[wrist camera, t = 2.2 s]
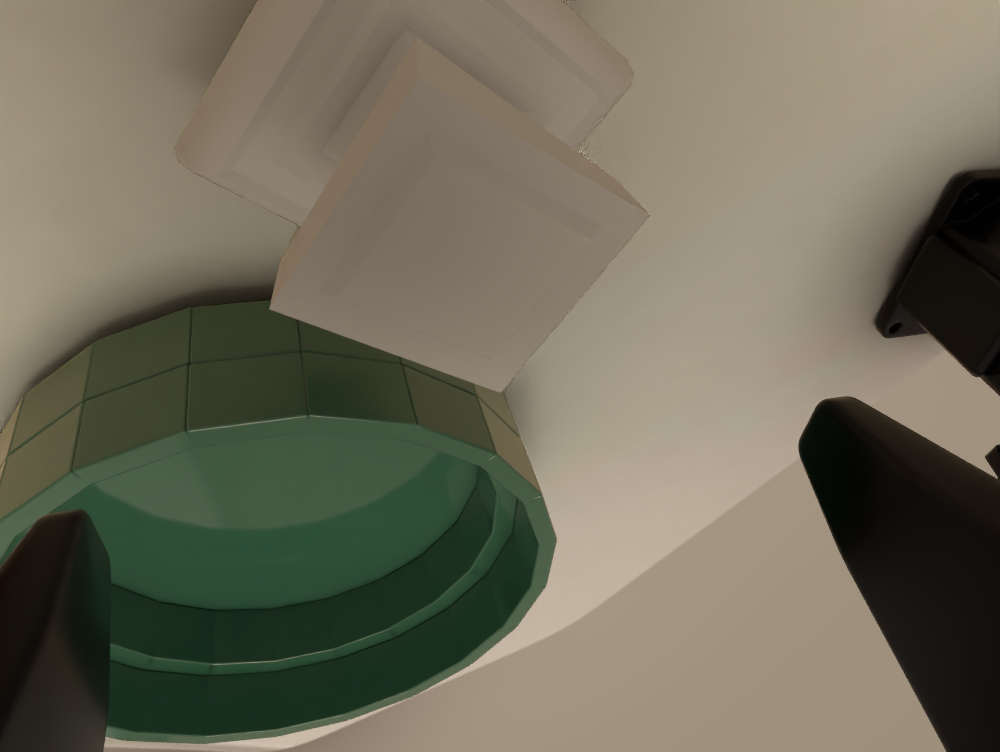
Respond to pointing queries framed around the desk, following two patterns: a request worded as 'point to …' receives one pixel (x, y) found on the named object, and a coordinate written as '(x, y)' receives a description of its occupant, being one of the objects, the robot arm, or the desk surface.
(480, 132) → the stamp
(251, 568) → the green bowl
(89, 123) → the desk surface
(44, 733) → the robot arm
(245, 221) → the desk surface
